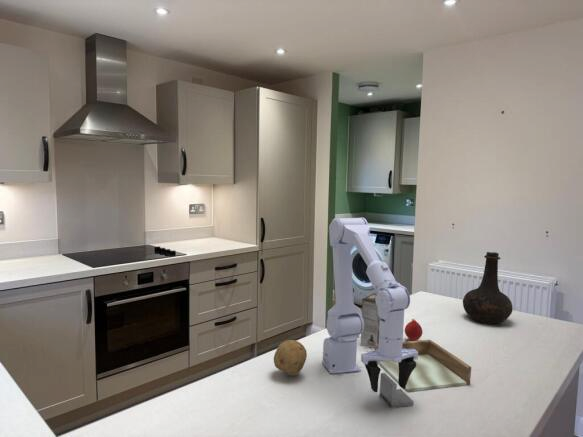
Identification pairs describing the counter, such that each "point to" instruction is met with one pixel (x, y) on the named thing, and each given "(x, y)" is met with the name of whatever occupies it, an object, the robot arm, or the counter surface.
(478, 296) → the glass bottle
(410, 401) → the bracket
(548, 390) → the counter surface
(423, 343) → the arena
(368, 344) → the coffee box
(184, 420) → the counter surface
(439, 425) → the counter surface
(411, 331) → the red round fruit
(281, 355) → the potato
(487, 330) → the counter surface
